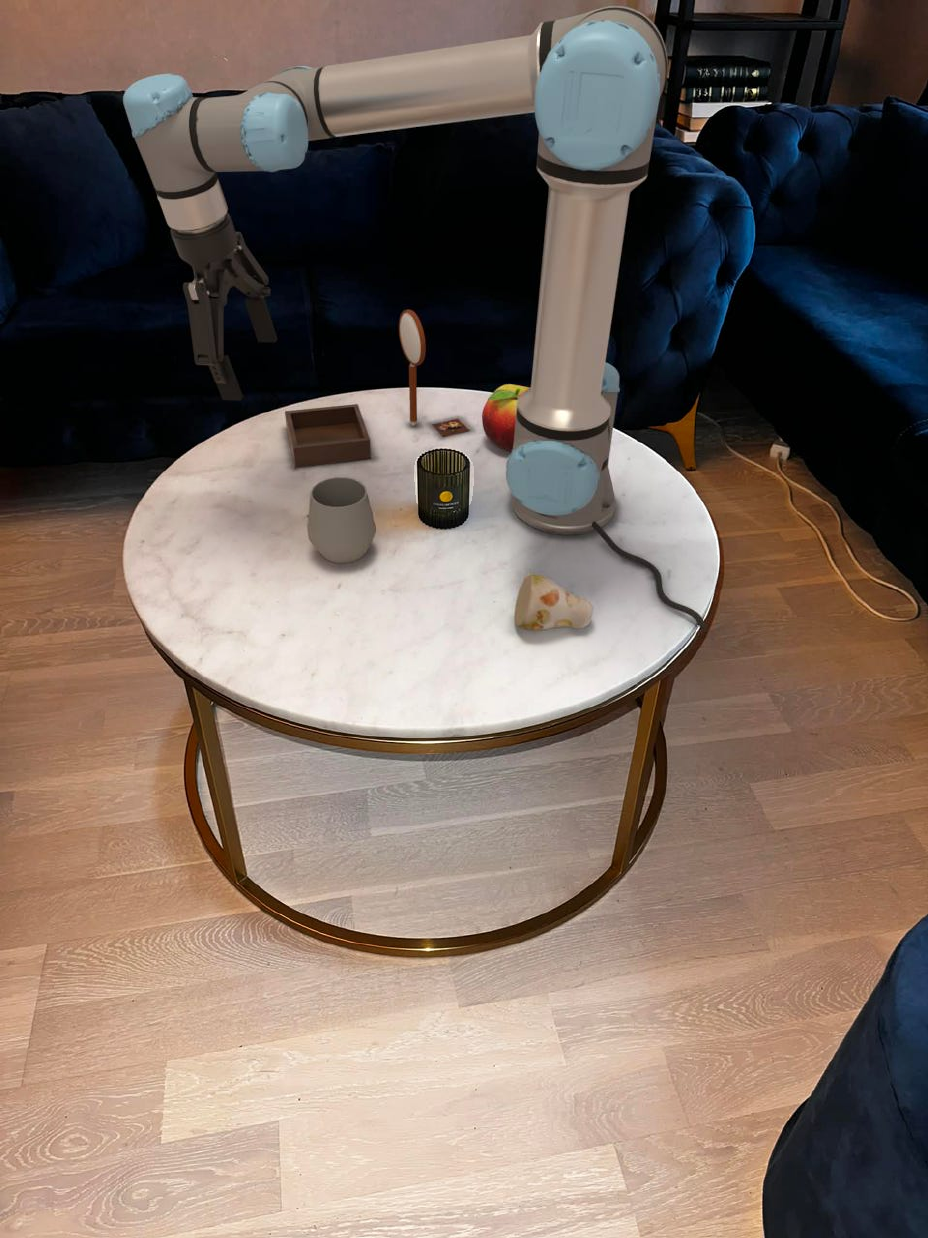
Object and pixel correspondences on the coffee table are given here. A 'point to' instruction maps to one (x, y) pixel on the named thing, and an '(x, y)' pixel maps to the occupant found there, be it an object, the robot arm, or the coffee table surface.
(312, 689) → the coffee table surface
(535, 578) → the beige spotted lump
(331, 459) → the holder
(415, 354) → the magnifying glass
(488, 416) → the fruit
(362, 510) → the cup
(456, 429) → the picture card
